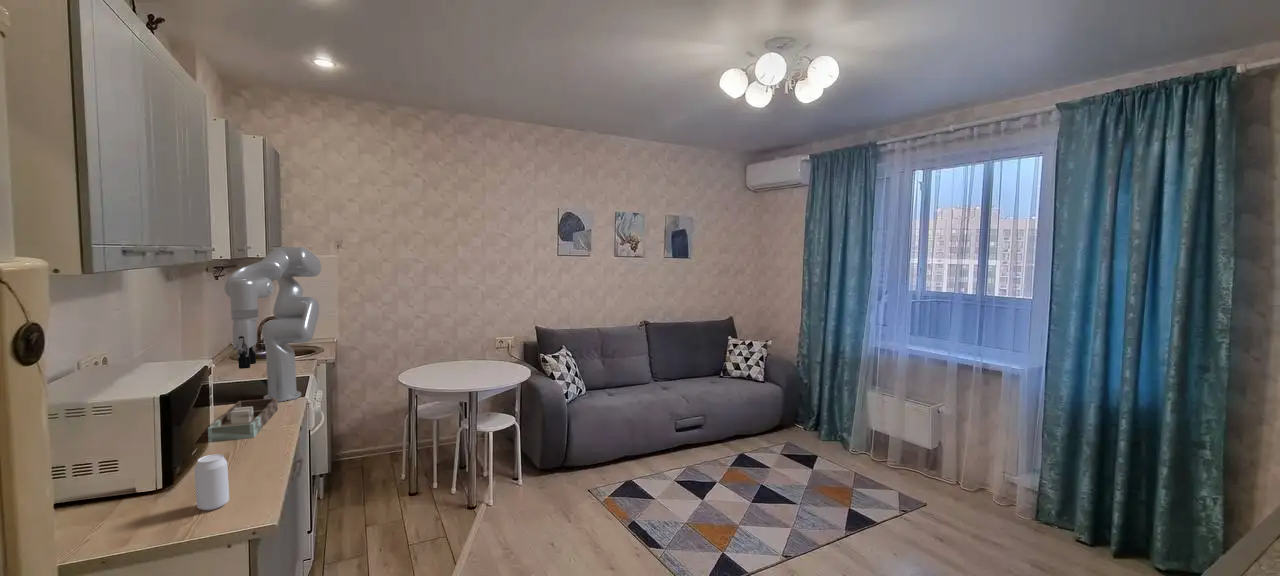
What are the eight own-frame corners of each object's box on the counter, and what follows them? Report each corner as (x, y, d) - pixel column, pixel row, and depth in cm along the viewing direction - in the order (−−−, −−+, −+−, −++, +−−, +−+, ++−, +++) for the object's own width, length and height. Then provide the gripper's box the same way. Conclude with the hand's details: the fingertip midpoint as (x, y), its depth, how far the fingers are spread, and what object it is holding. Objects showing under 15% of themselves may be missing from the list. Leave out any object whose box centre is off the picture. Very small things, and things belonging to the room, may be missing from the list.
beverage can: (222, 497, 136) (219, 451, 135) (234, 504, 133) (231, 456, 132) (192, 508, 131) (189, 459, 130) (204, 515, 128) (201, 465, 126)
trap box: (239, 413, 199) (238, 401, 199) (277, 409, 204) (277, 398, 203) (208, 442, 172) (207, 428, 171) (254, 437, 176) (253, 424, 175)
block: (236, 419, 186) (235, 407, 185) (253, 417, 187) (252, 406, 187) (231, 424, 181) (230, 412, 181) (249, 422, 183) (248, 410, 182)
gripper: (239, 311, 195) (242, 361, 197) (223, 318, 179) (226, 372, 181) (264, 311, 198) (267, 360, 200) (250, 318, 182) (253, 371, 184)
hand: (247, 365), depth 190 cm, fingers open, 5 cm apart
